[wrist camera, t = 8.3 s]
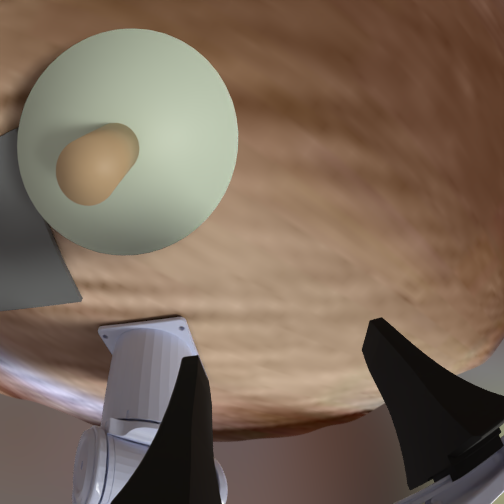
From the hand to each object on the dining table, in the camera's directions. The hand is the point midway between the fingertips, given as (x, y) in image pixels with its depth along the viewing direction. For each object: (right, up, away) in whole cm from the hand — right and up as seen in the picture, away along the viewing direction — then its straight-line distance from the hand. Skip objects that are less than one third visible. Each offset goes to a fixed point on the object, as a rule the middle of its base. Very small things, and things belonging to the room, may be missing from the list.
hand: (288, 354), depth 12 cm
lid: (-8, +9, 0) cm, 12 cm away
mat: (-22, +5, +5) cm, 23 cm away
